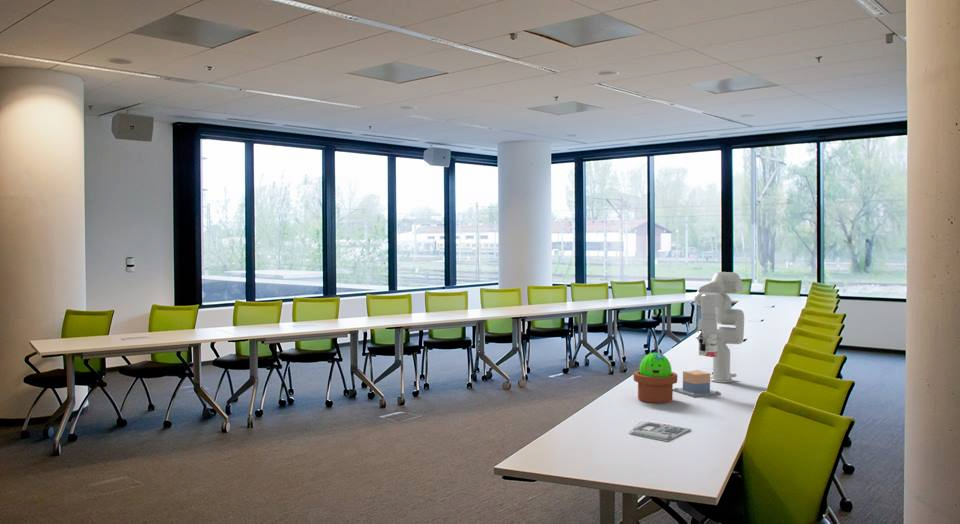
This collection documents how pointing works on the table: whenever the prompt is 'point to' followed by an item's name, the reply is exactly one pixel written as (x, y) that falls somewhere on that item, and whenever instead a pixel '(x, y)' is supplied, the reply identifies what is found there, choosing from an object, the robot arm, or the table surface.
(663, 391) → the potted cactus
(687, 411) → the table surface
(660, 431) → the grey flat panel
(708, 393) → the studded square plate
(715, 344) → the ink box
